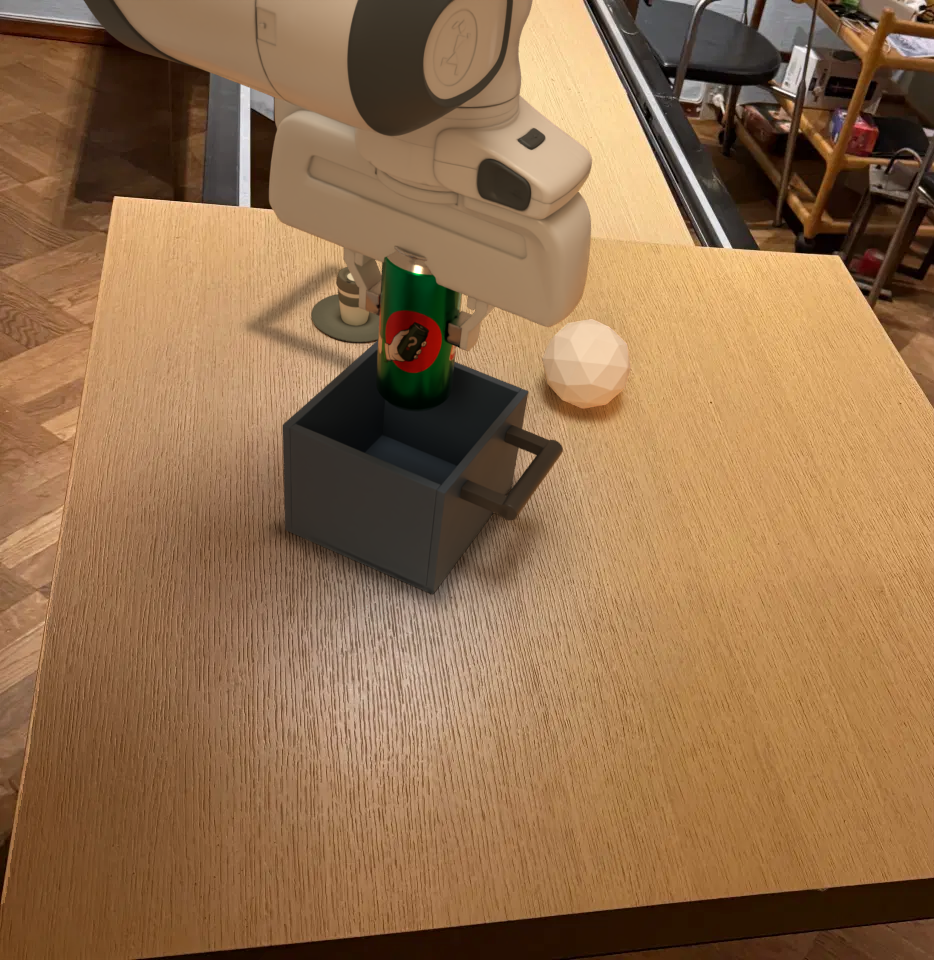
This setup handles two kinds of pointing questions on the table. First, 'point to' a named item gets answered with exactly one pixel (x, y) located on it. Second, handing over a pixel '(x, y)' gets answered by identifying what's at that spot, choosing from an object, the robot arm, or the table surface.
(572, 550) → the table surface
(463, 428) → the handled storage box
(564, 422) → the table surface
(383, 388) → the soda can
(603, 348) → the geometric ball
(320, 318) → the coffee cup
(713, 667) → the table surface
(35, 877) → the table surface
